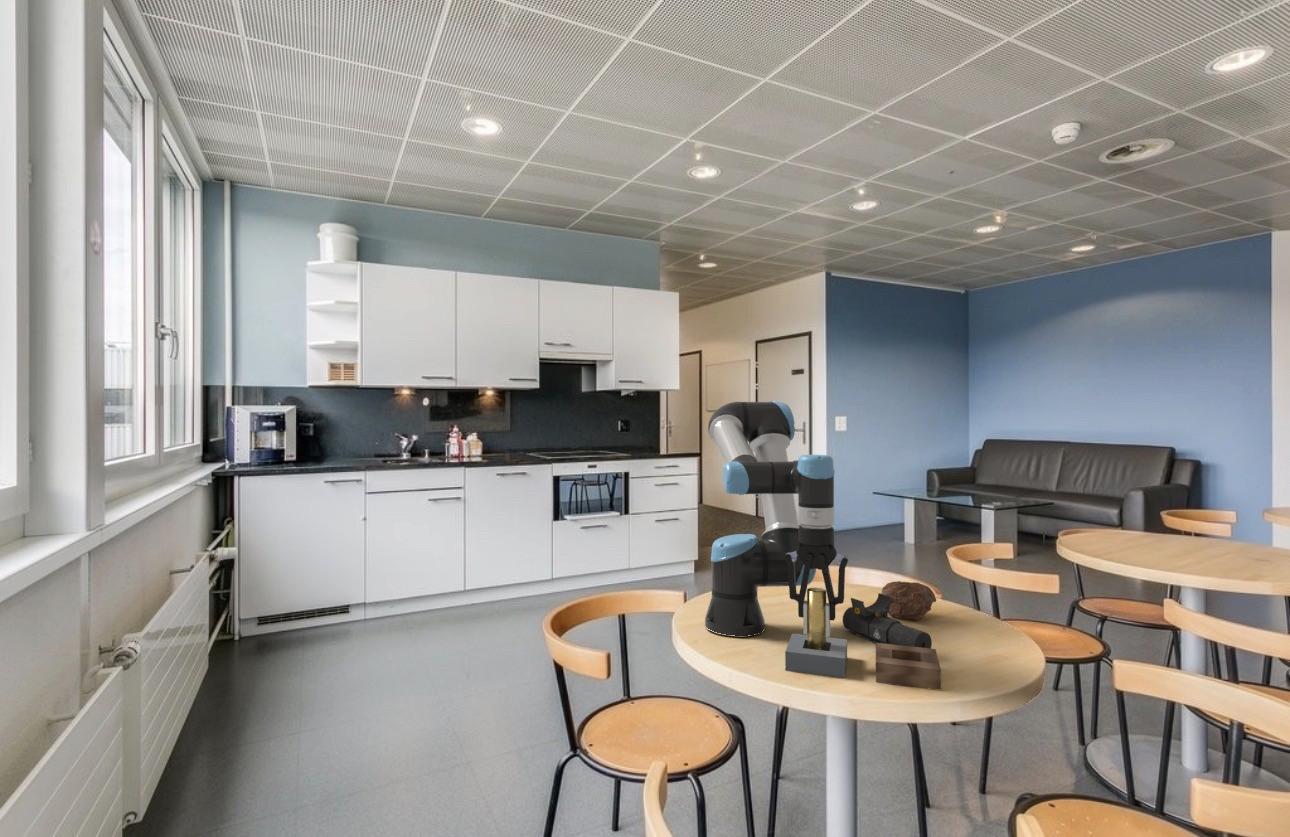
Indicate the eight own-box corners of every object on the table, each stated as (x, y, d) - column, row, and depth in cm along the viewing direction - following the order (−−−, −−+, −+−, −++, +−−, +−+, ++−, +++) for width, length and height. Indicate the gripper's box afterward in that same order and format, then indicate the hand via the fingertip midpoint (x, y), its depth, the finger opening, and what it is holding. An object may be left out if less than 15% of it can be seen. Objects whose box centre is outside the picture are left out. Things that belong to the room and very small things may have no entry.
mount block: (785, 670, 134) (785, 651, 134) (792, 651, 145) (792, 633, 145) (844, 677, 129) (844, 658, 129) (847, 657, 141) (847, 639, 141)
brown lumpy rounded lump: (942, 619, 168) (941, 581, 168) (919, 627, 161) (919, 588, 161) (896, 608, 178) (896, 572, 178) (873, 615, 171) (873, 578, 172)
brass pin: (806, 665, 136) (806, 591, 136) (808, 659, 140) (808, 587, 140) (826, 668, 135) (825, 593, 135) (827, 661, 138) (826, 588, 138)
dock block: (875, 681, 127) (875, 662, 127) (875, 660, 139) (875, 642, 139) (941, 690, 123) (940, 669, 123) (935, 667, 134) (935, 649, 134)
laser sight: (907, 662, 138) (907, 616, 138) (833, 632, 158) (833, 592, 158) (938, 655, 143) (937, 610, 143) (862, 626, 163) (862, 588, 163)
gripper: (774, 526, 137) (774, 634, 137) (856, 530, 131) (857, 643, 131) (779, 521, 144) (779, 624, 144) (857, 525, 138) (858, 632, 138)
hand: (816, 633), depth 137 cm, fingers closed on brass pin, 4 cm apart
